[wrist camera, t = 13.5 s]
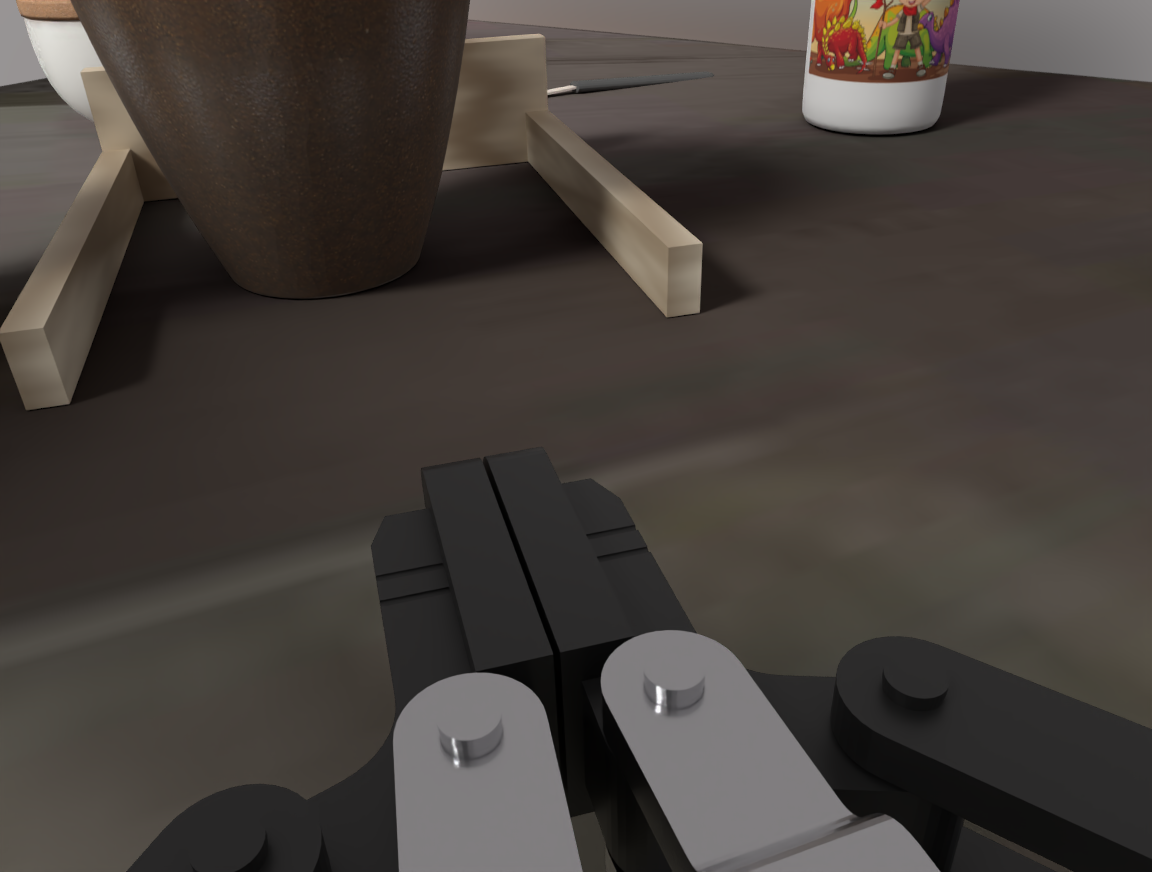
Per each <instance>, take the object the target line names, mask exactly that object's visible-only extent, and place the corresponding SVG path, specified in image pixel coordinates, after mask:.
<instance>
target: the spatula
mask: <svg viewBox="0 0 1152 872" xmlns="http://www.w3.org/2000/svg"><path fill="white" fill-rule="evenodd" d="M713 76H714V75H713V74H712V73H710V72H695V73H682V74H668V75H654V76H640V77H626V78H612V79H598V80H584V81H572V82H571V83H570V86H566V87H560V88H555V89H550V90H547V95H550V94H554V93H559V92H564V91H569V90H572V91H573V92H574V93H580V92H593V91H603V90H613V89H622V88H630V87H639V86H647V85H655V84H662V83H670V82H678V81H685V80H692V79H699V78H706V77H713Z"/></svg>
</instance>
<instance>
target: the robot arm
mask: <svg viewBox="0 0 1152 872" xmlns="http://www.w3.org/2000/svg"><path fill="white" fill-rule="evenodd" d="M421 477H422V486H423V493H424V500H425V507H426V509H423V510H417V511H412V512H406V513H401V514H395V515H390V516H385V517H384V519H383V521H382V523H381V526H380V528H379V530H378V532H377V534H376V536H375V538H374V540H373V543H372V545H371V549H372V555H373V562H374V568H375V574H376V580H377V587H378V593H379V600H380V606H381V612H382V619H383V625H384V631H385V638H386V644H387V650H388V657H389V663H390V669H391V676H392V682H393V688H394V695H395V703H396V713H395V719H394V723H393V726H392V729H391V732H390V734H389V736H388V737H387V739H386V741H385V743H384V744H383V746H382V747H381V748H380V750H379V751H378V752H377V754H376V755H375V756H374V757H373V758H372V759H371V760H370V761H369V762H368V763H367V764H366V765H365V766H363V767H362V768H361V769H359V770H358V771H357V772H356V773H354V774H353V775H351V776H350V777H348V778H346V779H345V780H343V781H341V782H340V783H338V784H336V785H334V786H332V787H330V788H329V789H327V790H325V791H323V792H321V793H319V794H317V795H316V796H314V797H312V798H310V799H308V800H305V799H304V798H303V797H301V796H300V795H299V794H297V793H295V792H293V791H291V790H289V789H287V788H283V787H279V786H276V785H267V784H250V785H242V786H237V787H232V788H229V789H226V790H223V791H220V792H217V793H215V794H212V795H210V796H208V797H206V798H204V799H202V800H200V801H199V802H197V803H195V804H194V805H192V806H190V807H189V808H187V809H186V810H185V811H184V812H182V813H181V814H180V815H178V816H177V817H176V818H175V819H174V820H173V821H172V822H171V823H170V824H169V825H168V826H167V827H166V828H165V829H164V830H163V831H162V832H161V833H160V834H159V835H158V837H157V838H156V839H155V840H154V841H153V842H152V843H151V844H150V846H149V847H148V848H147V849H146V850H145V851H144V852H143V853H142V855H141V856H140V857H139V858H138V859H137V860H136V861H135V862H134V864H133V865H132V866H131V867H130V868H129V869H128V870H127V871H126V872H583V871H582V867H581V862H580V858H579V854H578V849H577V845H576V841H575V836H574V832H573V828H572V823H571V819H570V818H571V817H575V816H578V815H582V814H586V813H590V812H594V811H595V813H596V816H597V819H598V822H599V825H600V828H601V830H602V833H603V836H604V839H605V866H606V872H1056V871H1054V870H1052V869H1050V868H1048V867H1046V866H1043V865H1041V864H1039V863H1037V862H1035V861H1033V860H1031V859H1029V858H1027V857H1025V856H1023V855H1021V854H1019V853H1017V852H1015V851H1013V850H1011V849H1009V848H1007V847H1005V846H1002V845H1000V844H998V843H996V842H994V841H992V840H990V839H988V838H986V837H984V836H982V835H980V834H978V833H976V832H974V831H972V830H970V829H968V828H966V827H963V822H964V819H966V820H968V821H970V822H972V823H974V824H976V825H978V826H980V827H983V828H985V829H987V830H989V831H991V832H993V833H995V834H997V835H999V836H1001V837H1003V838H1005V839H1007V840H1009V841H1012V842H1014V843H1016V844H1018V845H1020V846H1022V847H1024V848H1026V849H1028V850H1030V851H1032V852H1034V853H1036V854H1038V855H1041V856H1043V857H1045V858H1047V859H1049V860H1051V861H1053V862H1055V863H1057V864H1059V865H1061V866H1063V867H1065V868H1067V869H1070V870H1072V871H1074V872H1152V729H1150V728H1147V727H1145V726H1142V725H1140V724H1137V723H1135V722H1132V721H1129V720H1127V719H1124V718H1122V717H1119V716H1117V715H1114V714H1112V713H1109V712H1107V711H1104V710H1102V709H1099V708H1097V707H1094V706H1092V705H1089V704H1086V703H1084V702H1081V701H1079V700H1076V699H1074V698H1071V697H1069V696H1066V695H1064V694H1061V693H1059V692H1056V691H1054V690H1051V689H1049V688H1046V687H1043V686H1041V685H1038V684H1036V683H1033V682H1031V681H1028V680H1026V679H1023V678H1021V677H1018V676H1016V675H1013V674H1011V673H1008V672H1006V671H1003V670H1001V669H998V668H995V667H993V666H990V665H988V664H985V663H983V662H980V661H978V660H975V659H973V658H970V657H968V656H965V655H963V654H960V653H958V652H955V651H952V650H950V649H947V648H945V647H942V646H940V645H937V644H934V643H931V642H928V641H925V640H920V639H916V638H910V637H900V636H897V637H881V638H875V639H871V640H868V641H865V642H863V643H860V644H858V645H856V646H855V647H853V648H852V649H851V650H849V651H848V652H847V653H846V654H845V656H844V657H843V658H842V660H841V661H840V663H839V665H838V669H837V674H836V677H814V676H783V675H771V674H765V673H760V672H755V671H752V670H748V669H745V668H744V666H743V665H742V664H741V662H740V661H739V660H738V659H737V657H736V656H735V655H734V654H733V653H732V652H731V651H729V650H728V649H727V648H726V647H725V646H723V645H721V644H720V643H718V642H716V641H715V640H713V639H710V638H708V637H705V636H703V635H699V634H697V633H696V631H695V630H694V628H693V626H692V624H691V623H690V621H689V619H688V617H687V615H686V614H685V612H684V610H683V608H682V607H681V605H680V603H679V601H678V600H677V598H676V596H675V594H674V593H673V591H672V589H671V587H670V586H669V584H668V582H667V580H666V578H665V577H664V575H663V573H662V571H661V570H660V568H659V566H658V564H657V563H656V561H655V559H654V557H653V556H652V554H651V552H648V549H647V545H646V543H645V541H644V540H643V538H642V536H641V534H640V533H639V531H638V530H636V528H635V524H634V522H633V520H632V519H631V517H630V515H629V513H628V512H627V510H626V508H625V506H624V504H623V503H622V501H621V499H620V498H619V497H617V496H616V495H614V494H613V493H611V492H610V491H608V490H607V489H606V488H604V487H603V486H601V485H600V484H598V483H597V482H595V481H594V480H592V479H585V480H580V481H574V482H569V483H563V484H561V482H560V480H559V478H558V476H557V474H556V472H555V470H554V468H553V466H552V464H551V462H550V459H549V457H548V455H547V453H546V451H545V450H544V448H543V447H538V448H532V449H526V450H520V451H515V452H509V453H503V454H497V455H492V456H486V457H484V459H483V462H482V460H481V459H480V458H476V459H470V460H464V461H458V462H452V463H447V464H441V465H435V466H429V467H424V468H421Z"/></svg>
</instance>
